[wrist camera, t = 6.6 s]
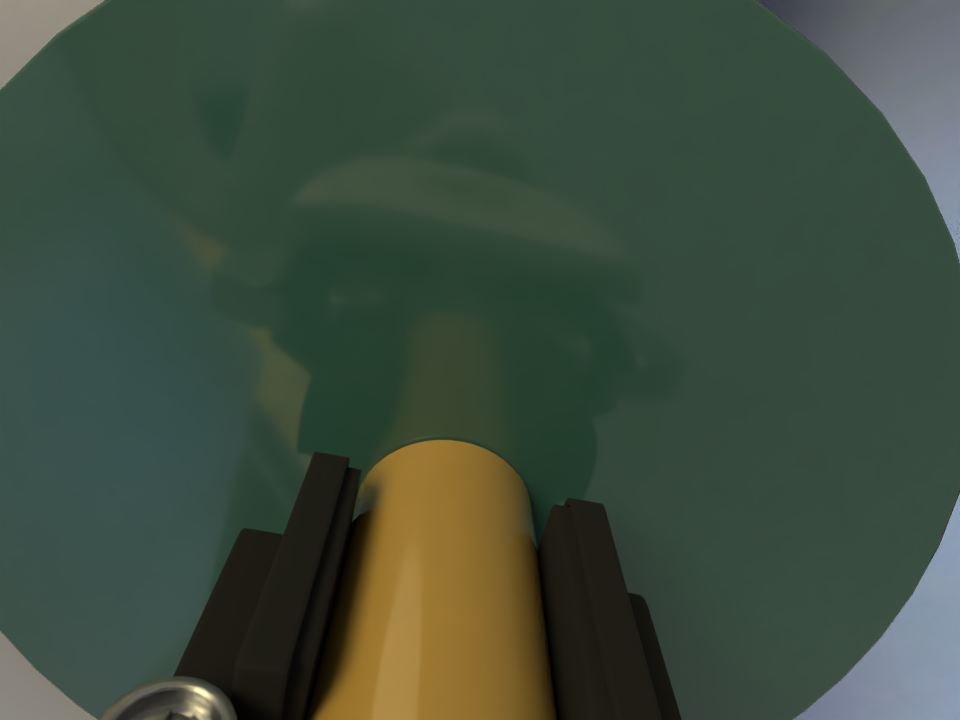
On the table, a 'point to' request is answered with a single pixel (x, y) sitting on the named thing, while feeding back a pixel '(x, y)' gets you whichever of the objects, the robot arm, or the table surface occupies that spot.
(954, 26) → the table surface
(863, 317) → the bowl lid
